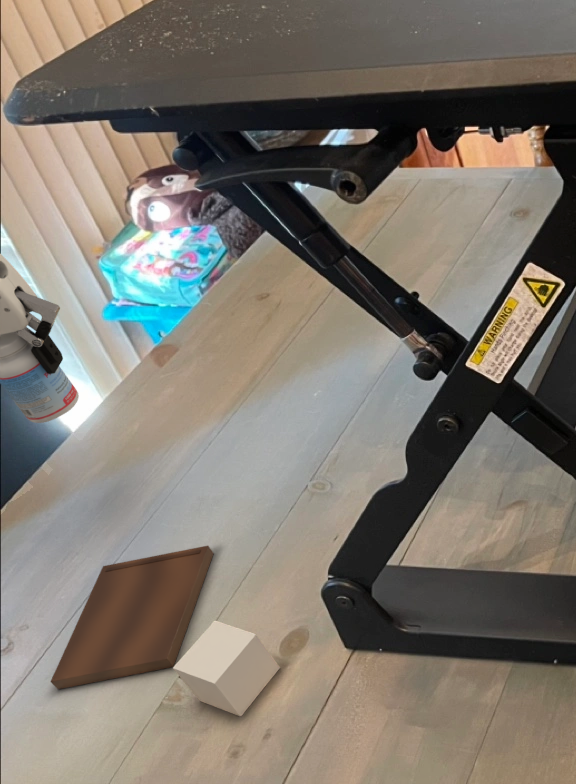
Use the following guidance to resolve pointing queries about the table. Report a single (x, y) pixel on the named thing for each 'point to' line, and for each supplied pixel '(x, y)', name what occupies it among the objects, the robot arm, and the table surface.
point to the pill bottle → (33, 382)
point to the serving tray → (134, 618)
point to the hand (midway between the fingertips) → (27, 371)
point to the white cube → (227, 668)
